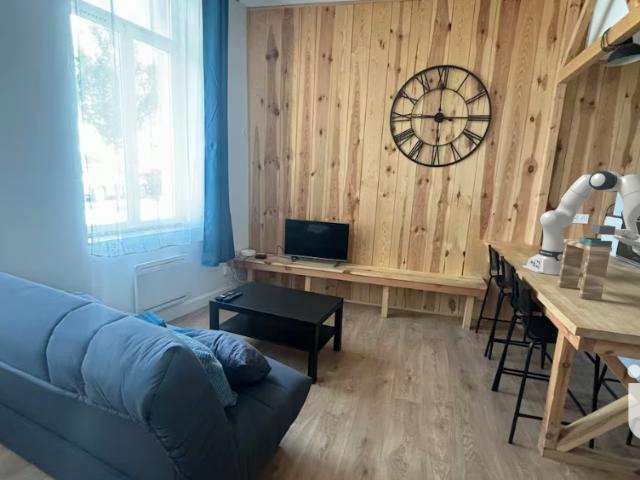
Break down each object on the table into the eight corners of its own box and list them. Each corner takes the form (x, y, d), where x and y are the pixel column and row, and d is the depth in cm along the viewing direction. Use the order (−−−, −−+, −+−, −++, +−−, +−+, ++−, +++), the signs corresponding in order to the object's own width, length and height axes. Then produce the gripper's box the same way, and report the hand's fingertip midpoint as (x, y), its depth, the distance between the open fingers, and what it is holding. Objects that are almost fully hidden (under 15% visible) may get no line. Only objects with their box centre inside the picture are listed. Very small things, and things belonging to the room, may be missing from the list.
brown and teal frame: (556, 286, 193) (565, 233, 187) (575, 287, 192) (584, 234, 187) (580, 298, 173) (591, 240, 167) (602, 300, 172) (613, 241, 167)
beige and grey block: (625, 234, 172) (627, 226, 172) (634, 235, 167) (635, 227, 167) (591, 232, 173) (593, 224, 173) (598, 234, 168) (600, 225, 168)
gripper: (631, 237, 180) (609, 222, 179) (668, 245, 160) (643, 228, 159) (623, 247, 181) (601, 233, 181) (658, 256, 161) (633, 240, 160)
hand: (621, 231), depth 170 cm, fingers closed on beige and grey block, 3 cm apart
